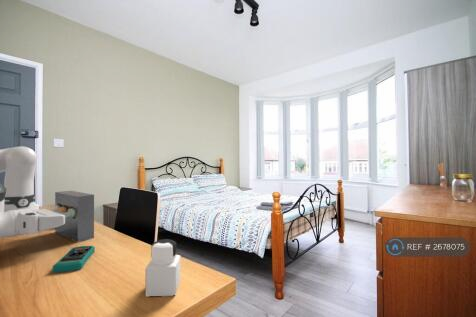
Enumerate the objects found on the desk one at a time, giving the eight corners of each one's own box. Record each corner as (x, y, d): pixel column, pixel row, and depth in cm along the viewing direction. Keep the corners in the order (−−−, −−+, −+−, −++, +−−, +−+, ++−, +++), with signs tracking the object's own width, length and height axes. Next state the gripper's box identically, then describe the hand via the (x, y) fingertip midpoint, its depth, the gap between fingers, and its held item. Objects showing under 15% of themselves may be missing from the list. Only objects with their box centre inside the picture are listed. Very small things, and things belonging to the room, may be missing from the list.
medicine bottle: (153, 282, 62) (153, 237, 62) (180, 280, 63) (180, 236, 63) (145, 297, 55) (145, 247, 55) (175, 296, 56) (175, 246, 56)
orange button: (57, 215, 97) (57, 207, 97) (64, 214, 99) (64, 206, 99) (60, 217, 95) (60, 208, 95) (67, 215, 97) (67, 207, 97)
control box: (55, 232, 104) (55, 192, 104) (70, 229, 109) (70, 190, 109) (77, 242, 92) (77, 196, 92) (94, 237, 97) (94, 194, 97)
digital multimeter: (95, 252, 83) (95, 244, 83) (81, 271, 69) (81, 261, 69) (71, 254, 81) (71, 246, 81) (51, 275, 67) (51, 264, 67)
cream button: (51, 213, 100) (51, 205, 100) (57, 212, 102) (57, 204, 102) (54, 214, 98) (54, 206, 98) (61, 213, 100) (61, 205, 100)
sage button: (67, 217, 94) (67, 208, 94) (74, 216, 96) (74, 207, 96) (71, 218, 92) (71, 209, 92) (78, 217, 94) (78, 208, 94)
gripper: (14, 225, 87) (58, 217, 98) (33, 235, 76) (80, 225, 87) (14, 208, 87) (58, 203, 98) (33, 216, 76) (80, 208, 87)
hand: (68, 213), depth 93 cm, fingers closed
